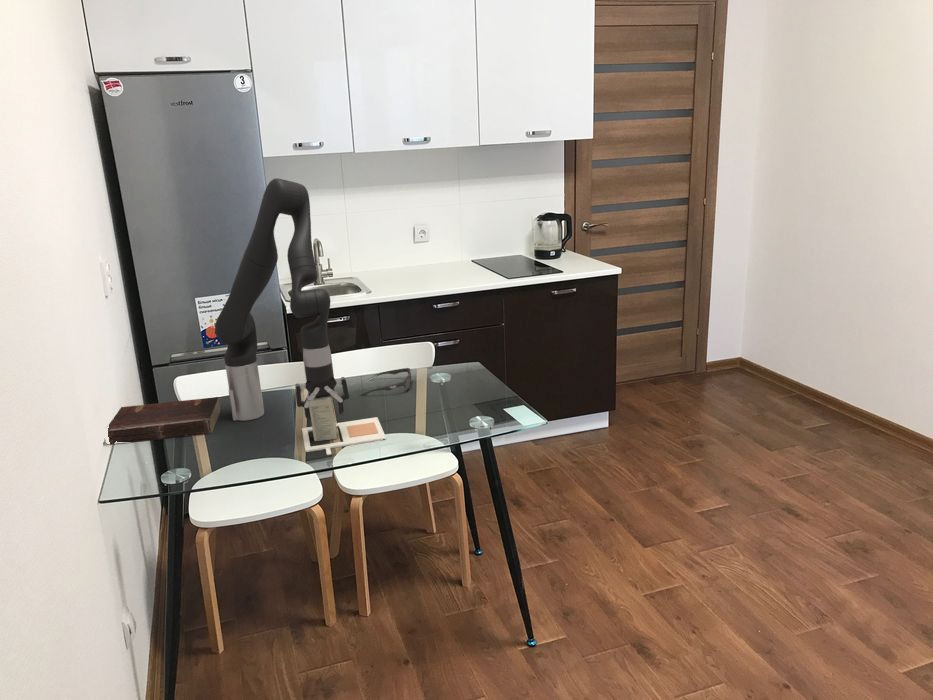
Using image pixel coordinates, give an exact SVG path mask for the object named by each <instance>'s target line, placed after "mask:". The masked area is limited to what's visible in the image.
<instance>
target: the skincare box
mask: <svg viewBox="0 0 933 700" xmlns="http://www.w3.org/2000/svg"><path fill="white" fill-rule="evenodd" d="M308 403H309V410H310V416H311V420H310V422H311V427H312V429H313V431H312V434H313V441H314V442H318V441H319V442H320V441H329V440H336V439H337V437H338V436H337V435H338V429H337V428H338V427H336V423H337V422H336V416H335V415H336V414H335V407H334V400H333V396H332V395H331V394H330V395H329V396H328V397H321V398H316V397H315V398H314V399H313V400H312V401H308Z"/></svg>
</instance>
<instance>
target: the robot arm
mask: <svg viewBox="0 0 933 700" xmlns="http://www.w3.org/2000/svg"><path fill="white" fill-rule="evenodd" d="M280 214H282V215H287V216H289V217H291V220H292V221H293V226H294V230H293V231H294V232H293V234H292V237H291V240H290V242H289V246H288V249H287V261H288V269H289V273H290V278H291V292H290V301H289V308H290V312H291V314H292V315H294V316H295V317H296V318H298V319H299V318H300V319H301V318H309V317H316V316H317V317H316V318H315V320H314V321H312V322H310V323H307V324H304V325H303V326H302V327H301V328H300V337H301V338H300V339H301V345H302V359H303V364H304V365H303V367H304V374H305V381H306V382H305V383H304V384H300V383H295V387H294V388H295V398H296V399H295V400H296V406H297V407H298V408H300V407H301V408H303V410H304V416H305V418H306V419H308V421H311V416H310V410H309V403H308V401H312V400H313V399H314V398H315V397H316V398H321V397H328V396H329V395H330V394H331V395H332V398H334V399H335V400H336V404H337V412H338V415H339V416H342V414H343V413H344V411H345V410H344V401H346V400H349V398H350V395H349V390H348V389H349V388H348V384H347V383H348V382H347V380H346V377H344V376H341V377H340V378H337V379H335V376H334V375H335V374H334V367H333V359H332V356H333V355H332V353H331V352H332V351H331V348H330V343H329V335H328V323H329V322H328V321H329V314H330V308H331V297H330V294H329V293H328V291H327V290H326V289H325V288H314V289H307V290H302V289H303V288H304V287H307V286H309V285H311V284H314V283H315V282H316V281H317V280H318V278H319V275H318V269H317V265H316V259H315V255H314V250H313V242H312V227H311V226H312V221H311V202H310V196H309V192H308V190H307V188H306V186H304V184H302V183H298V182H295V181H290V180H287V179H282V178H273V179H271V180H270V181H269V183H268V184H267V185H266V187H265V189H264V192H263V196H262V199H261V203H260V206H259V210H258V214H257V216H256V221H255V224H254V227H253V230H252V233H251V235H250V239H249V241H248V244H247V246H246V248H245V250H244V253H243V255H242V258H241V261H240V263H239V267H238V270H237V272H236V276H235V278H234V281H233V283H232V286H231V289H230V292H229V295H228V298H227V300H226V302H225V303H224V306H223V308H222V310H221V312H220V313H219V315H218V317H217V319H216V322H215V324H214V325H215V326H214V330H215V335H216V338H218V340H219V341H220V342H221V343H222V344H224V345H227V348H226V350H225V354H224V356H223V360H224V366H225V372H226V377H227V385H228V397H229V403H230V409H231V414H232V415H231V416H232V420H233V421H243V422H245V421H252V420H256V419H259V418H261V417H263V416H264V415H265V406H264V402H263V401H264V399H263V393H262V388H261V386H262V385H261V382H260V381H261V380H260V379H261V378H260V373H259V367H258V359H257V354H258V353H257V352H258V338H257V329H256V322H255V320H254V317H253V315H252V314H251V311H252V309H253V306H254V304H255V303H256V302H257V300H258V299H259V297H260V296H261V295H262V293H263V291H264V290H265V288H266V287H267V285H268V284H269V282H270V280H271V278H272V276H273V274H274V271H275V269H276V266H277V263H278V259H279V258H278V257H279V255H278V253H279V252H278V249H277V243H276V238H275V227H276V224H277V220H278V218H279V215H280ZM337 385H338V386H339V387H342V388H341V389H342V393H343V394H340V393H339V392H338V391H337V390H336V389H335V387H336V386H337ZM304 390H306V391H307V392H308V394H307V395H306V398H305V399H304V400H302V393H304Z"/></svg>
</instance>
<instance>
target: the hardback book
mask: <svg viewBox="0 0 933 700" xmlns="http://www.w3.org/2000/svg"><path fill="white" fill-rule="evenodd" d="M220 409H221V403H220V398H219V396H216V397H215V396H213V397H204V398H197V399H186V400H176V401H167V402H158V403H157V402H156V403H150V404H149V403H147V404H146V403H145V404H138V405H129V406H121V407H120V408H119V410H118V411H117V412H116V414H115V415H114V417H113V418H112V420H111V421H110V422H109V424H108V425H109V428H108V437H109V442H110V445H112V446H113V445H115V444H114V443H115V442H116V441H117V442H131V443H137V442H139V443H141V442H146V441H157V440H165V439H166V438H167V439H173V438H172V437H176V438H179V437H178V436H185V435H193V436H192V437H194V435H195V436H202V435H212V433H213V431H214V428H215V425H216V424H217V421H218V419H219V417H220V414H221V411H220ZM219 413H220V414H219ZM185 437H186V436H185ZM110 445H109V446H110Z"/></svg>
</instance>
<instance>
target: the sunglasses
mask: <svg viewBox="0 0 933 700" xmlns="http://www.w3.org/2000/svg"><path fill="white" fill-rule="evenodd" d="M401 373H407V374H408V375H407V376H406V377H405V378H404V379H403V381H401V382H398V383H395V384H390V385H386V386H385V385H384V386H382V387H378V388H374V389H371V390H367V391H366V392H362V393H361V394H359V395H358V396H361V397H364V396H366V395H368V394H370V393H373V392H377V391H388V392H389V391H391V390H394V389H396V388H401V387H403V388H404V390H405V392H408V391H409V390H410V387H411V384H410V383H412V372H411V368H410V367H405V368H398V369H392V370H387V371H383V372H382V371H381V372H379V373H378V374H377V373H376V374H374V375H372V376H371V377H369V378H368V379H366V380H367V381H366V382H369V381H368V380H371V381H372V380H373V379H374V378H376V377H378V376H381V375H389V374H390V375H397V374H401ZM408 389H409V390H408ZM407 390H408V391H407Z"/></svg>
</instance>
